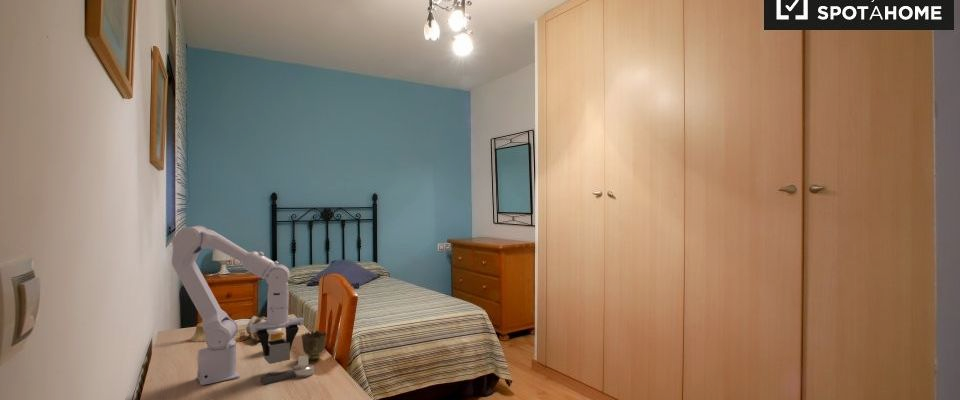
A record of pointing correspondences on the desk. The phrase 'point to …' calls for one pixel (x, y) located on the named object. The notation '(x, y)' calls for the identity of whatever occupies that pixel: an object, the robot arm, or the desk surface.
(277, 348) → the dark-topped grey cube
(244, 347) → the desk surface
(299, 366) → the ratchet
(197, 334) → the hand bell
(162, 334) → the desk surface
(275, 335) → the supplement bottle
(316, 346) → the cup
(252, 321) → the ceramic sculpture
